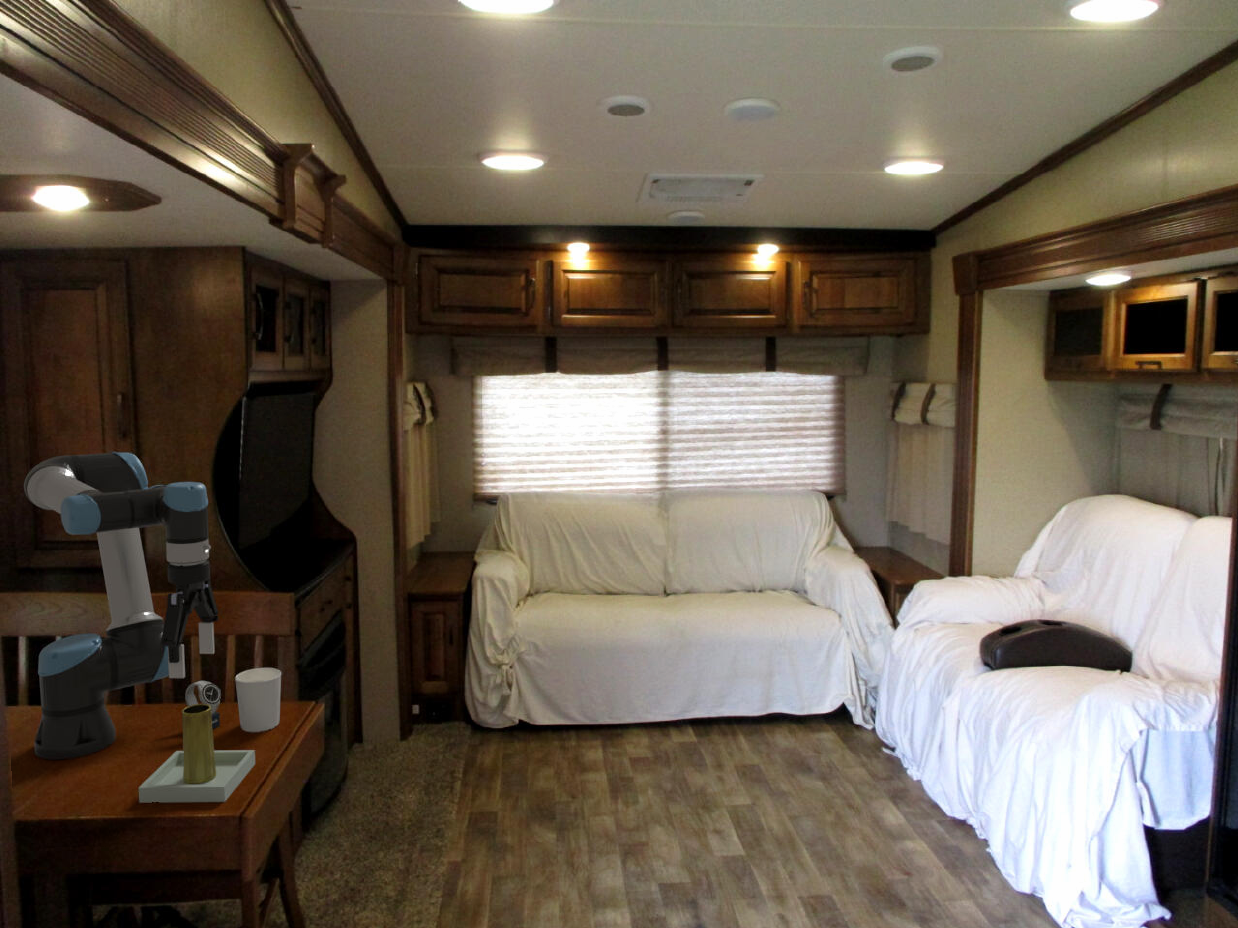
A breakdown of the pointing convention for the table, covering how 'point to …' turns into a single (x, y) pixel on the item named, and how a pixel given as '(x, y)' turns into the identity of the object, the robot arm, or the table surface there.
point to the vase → (198, 744)
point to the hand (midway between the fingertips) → (192, 665)
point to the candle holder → (259, 698)
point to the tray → (172, 788)
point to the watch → (205, 698)
